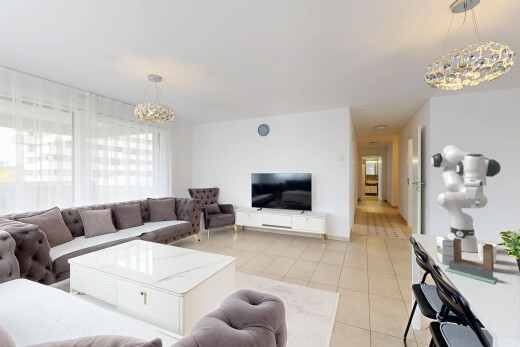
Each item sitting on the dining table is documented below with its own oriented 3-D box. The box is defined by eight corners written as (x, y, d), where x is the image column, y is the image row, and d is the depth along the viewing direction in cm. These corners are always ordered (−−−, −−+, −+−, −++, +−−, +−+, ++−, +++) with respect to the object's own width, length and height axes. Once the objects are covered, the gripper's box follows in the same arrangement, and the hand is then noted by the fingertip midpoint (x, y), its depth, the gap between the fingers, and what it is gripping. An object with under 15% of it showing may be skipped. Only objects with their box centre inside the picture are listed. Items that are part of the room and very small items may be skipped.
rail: (450, 267, 119) (450, 260, 119) (493, 278, 106) (492, 270, 106) (449, 268, 117) (448, 261, 117) (492, 280, 104) (491, 271, 104)
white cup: (493, 264, 122) (492, 247, 123) (474, 259, 130) (474, 243, 130) (499, 262, 126) (499, 245, 126) (481, 257, 133) (481, 241, 133)
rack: (455, 259, 131) (454, 237, 131) (493, 268, 118) (493, 244, 118) (451, 262, 127) (451, 240, 127) (491, 271, 114) (490, 247, 114)
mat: (449, 266, 121) (449, 265, 121) (497, 278, 107) (497, 277, 107) (444, 270, 116) (444, 269, 116) (493, 284, 102) (493, 282, 102)
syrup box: (454, 265, 123) (454, 239, 123) (442, 264, 124) (442, 239, 124) (448, 261, 129) (447, 236, 129) (436, 260, 130) (436, 236, 130)
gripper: (471, 181, 130) (472, 204, 130) (462, 183, 118) (463, 208, 118) (486, 181, 125) (487, 205, 125) (478, 183, 113) (479, 209, 113)
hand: (475, 207), depth 121 cm, fingers open, 8 cm apart
